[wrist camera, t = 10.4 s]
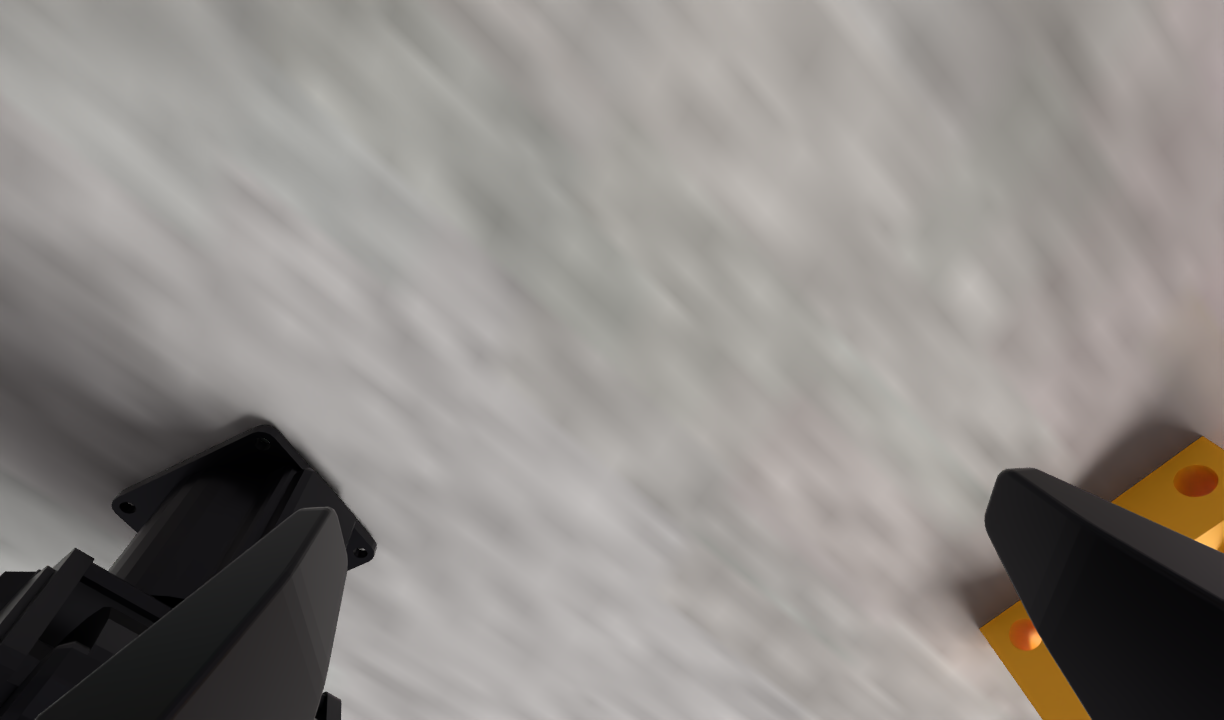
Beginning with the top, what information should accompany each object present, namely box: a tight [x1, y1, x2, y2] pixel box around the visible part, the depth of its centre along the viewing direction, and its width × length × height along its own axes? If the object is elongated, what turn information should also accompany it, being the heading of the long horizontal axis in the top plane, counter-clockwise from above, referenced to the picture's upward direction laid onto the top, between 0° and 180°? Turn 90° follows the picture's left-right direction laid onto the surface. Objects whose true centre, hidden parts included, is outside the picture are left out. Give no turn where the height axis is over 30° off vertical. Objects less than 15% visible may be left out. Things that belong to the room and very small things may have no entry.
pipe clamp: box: [980, 436, 1224, 720], centre depth 26 cm, size 12×4×6 cm, turn 139°
